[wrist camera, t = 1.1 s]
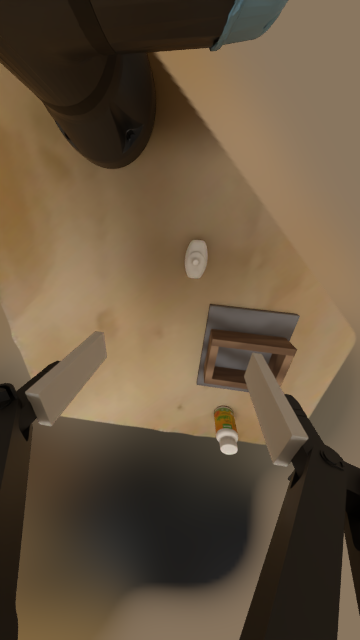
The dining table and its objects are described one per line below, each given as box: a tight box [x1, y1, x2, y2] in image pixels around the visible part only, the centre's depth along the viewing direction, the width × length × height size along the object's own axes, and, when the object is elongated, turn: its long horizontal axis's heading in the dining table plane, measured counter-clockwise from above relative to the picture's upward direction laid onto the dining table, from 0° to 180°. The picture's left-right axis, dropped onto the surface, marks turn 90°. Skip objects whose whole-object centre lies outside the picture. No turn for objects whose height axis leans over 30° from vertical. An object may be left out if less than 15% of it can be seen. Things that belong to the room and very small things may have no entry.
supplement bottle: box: [214, 406, 238, 455], centre depth 43 cm, size 5×5×10 cm
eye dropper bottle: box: [185, 240, 208, 279], centre depth 26 cm, size 4×6×12 cm
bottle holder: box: [197, 304, 300, 392], centre depth 36 cm, size 22×18×6 cm
